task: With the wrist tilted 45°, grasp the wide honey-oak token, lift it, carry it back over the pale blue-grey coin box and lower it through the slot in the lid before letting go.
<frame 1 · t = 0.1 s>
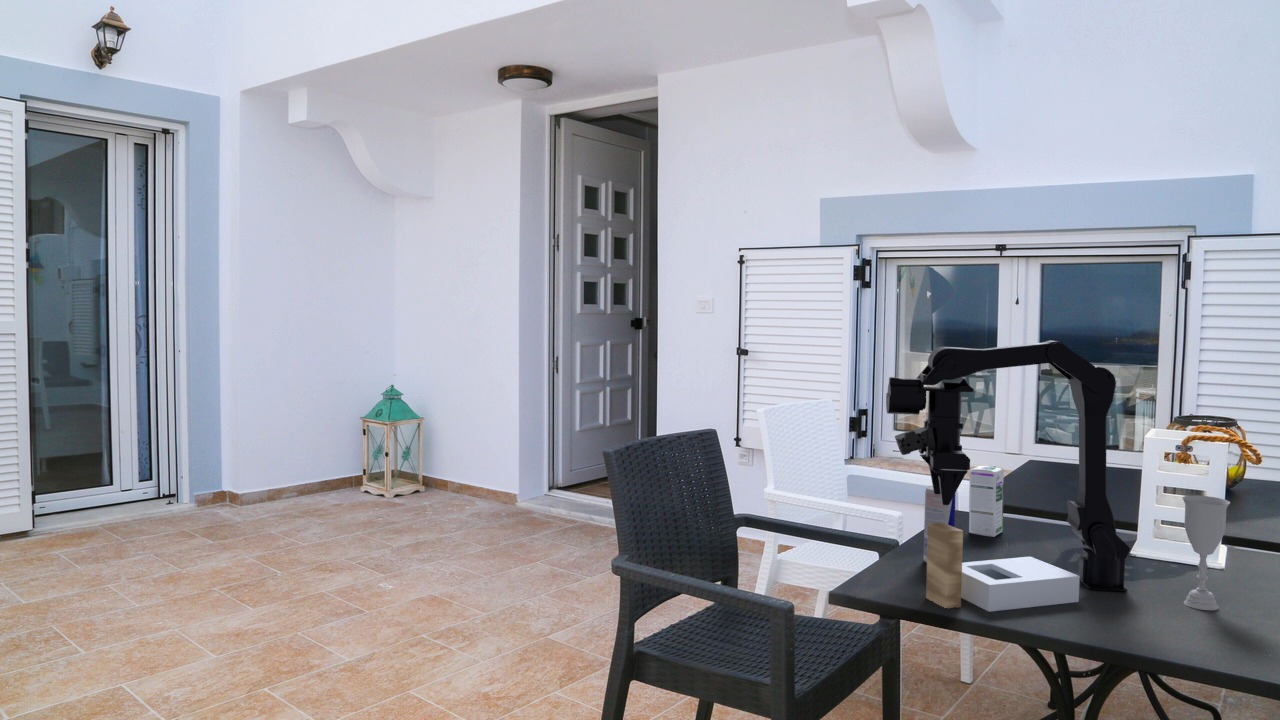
hand: (941, 499, 164), 15 cm above the table, tool pointing down, fingers open, 9 cm apart
chalice: (1200, 606, 150), on the table
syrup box: (985, 533, 197), on the table
beverage can: (938, 564, 173), on the table
oak token: (943, 602, 151), on the table
coin box: (1010, 595, 154), on the table
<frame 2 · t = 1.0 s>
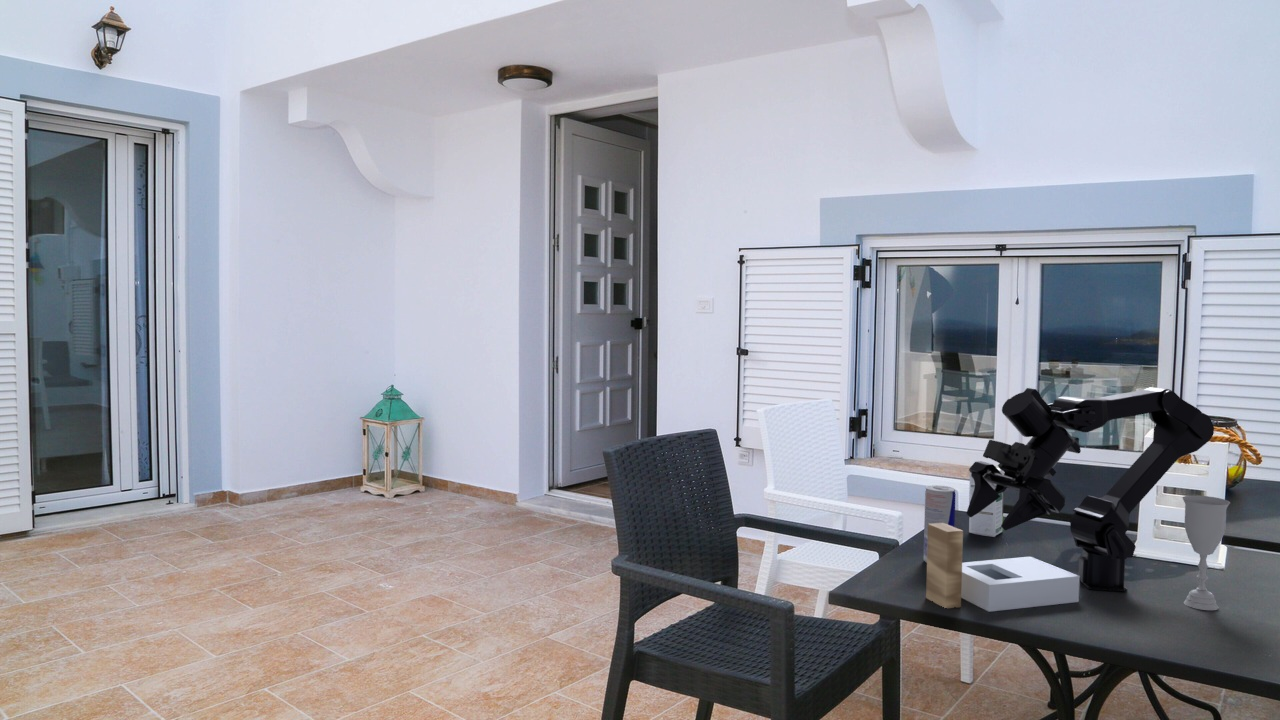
hand: (985, 521, 152), 13 cm above the table, tool tilted 45°, fingers open, 9 cm apart
nothing on the table moved.
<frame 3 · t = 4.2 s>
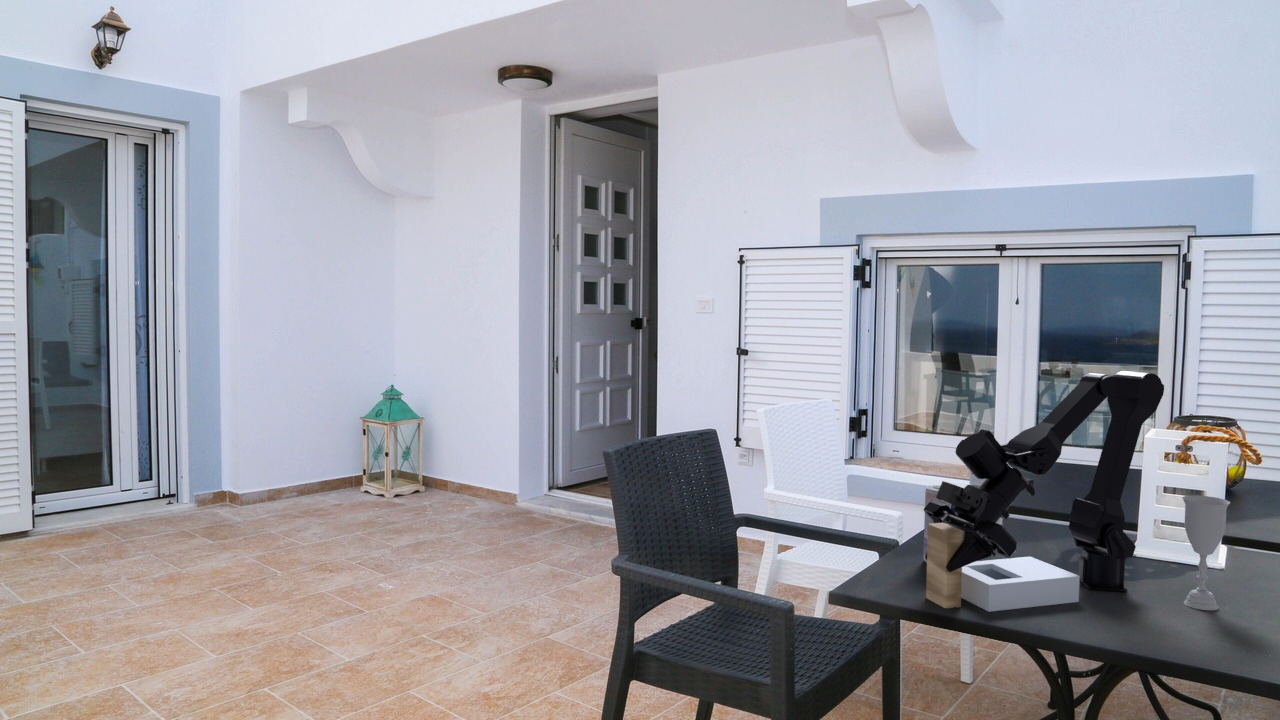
hand: (937, 564, 150), 7 cm above the table, tool tilted 45°, fingers closed on oak token, 5 cm apart
oak token: (943, 602, 151), on the table, touching gripper
everything else where it was.
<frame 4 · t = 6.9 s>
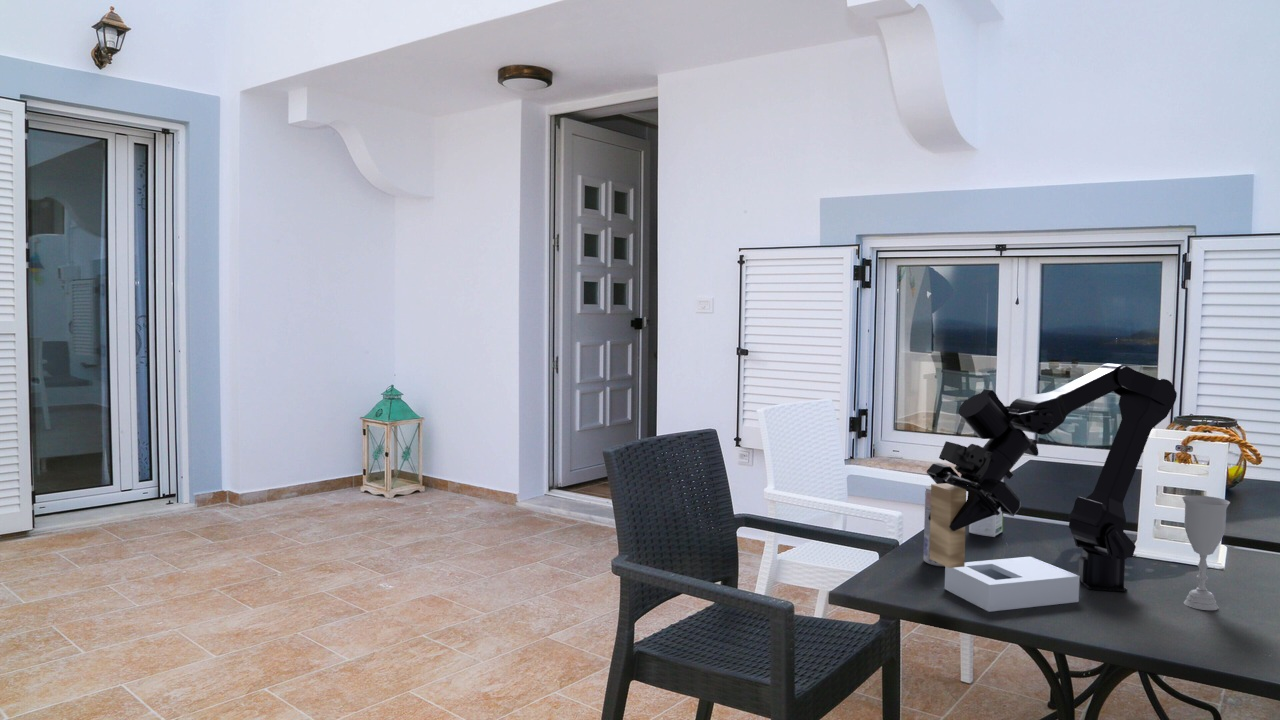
hand: (940, 524, 150), 13 cm above the table, tool tilted 45°, fingers closed on oak token, 5 cm apart
oak token: (946, 562, 150), point 7 cm above the table, touching gripper
everything else where it was.
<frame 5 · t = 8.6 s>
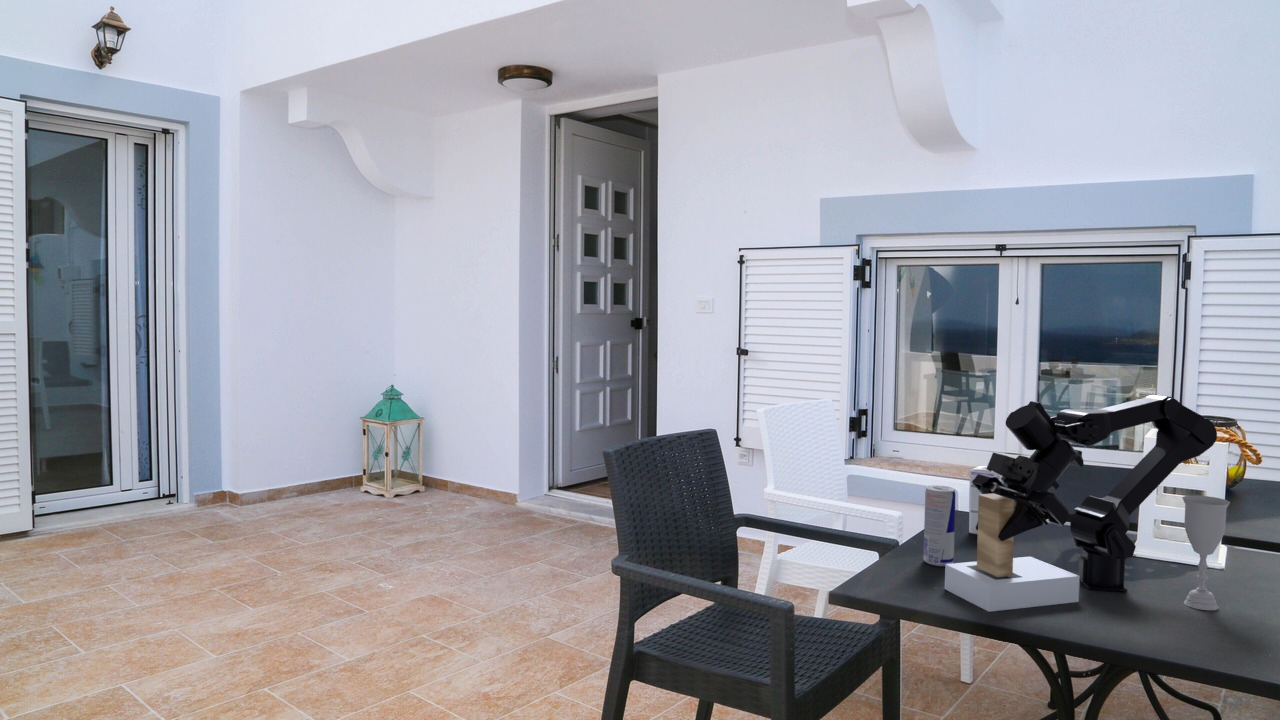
hand: (988, 534, 152), 11 cm above the table, tool tilted 45°, fingers closed on oak token, 5 cm apart
oak token: (994, 571, 153), point 5 cm above the table, touching gripper
everything else where it was.
when the fingers open (9 cm above the table, at t = 10.0 s): oak token drops 1 cm, resting on coin box.
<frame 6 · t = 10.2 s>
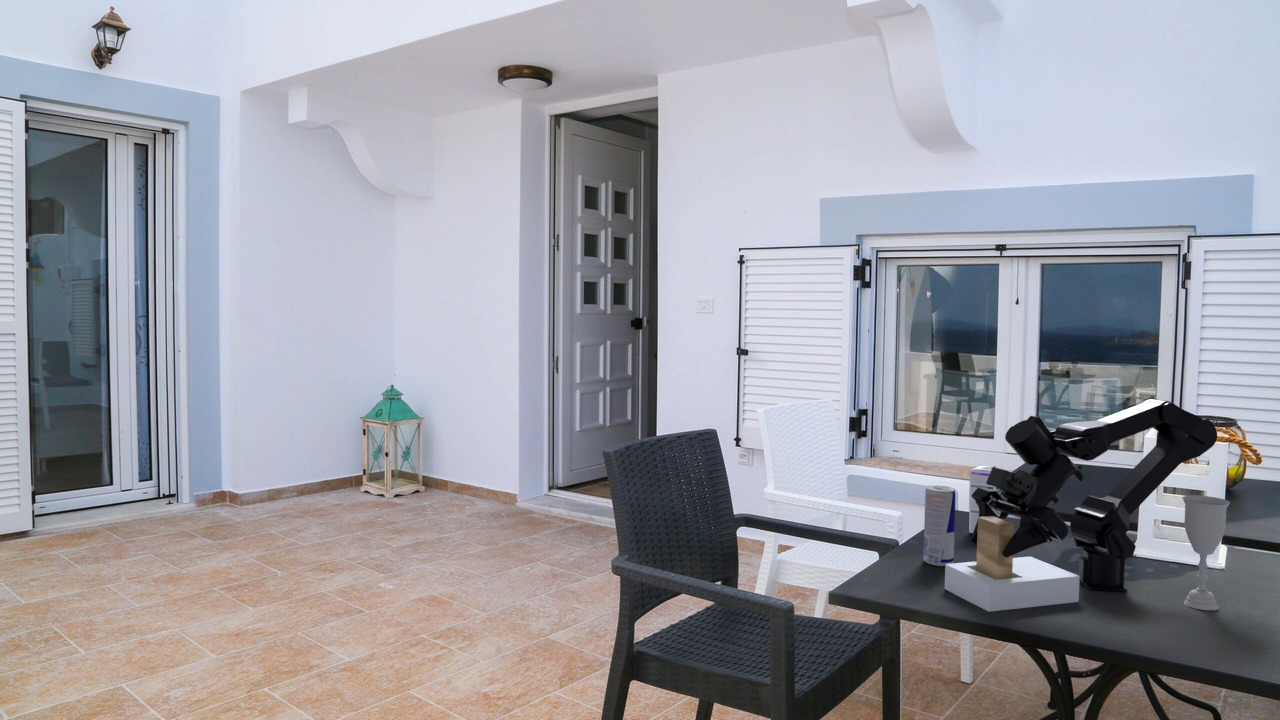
hand: (987, 549, 153), 9 cm above the table, tool tilted 45°, fingers open, 8 cm apart
oak token: (993, 594, 153), point 1 cm above the table, touching coin box
everything else where it was.
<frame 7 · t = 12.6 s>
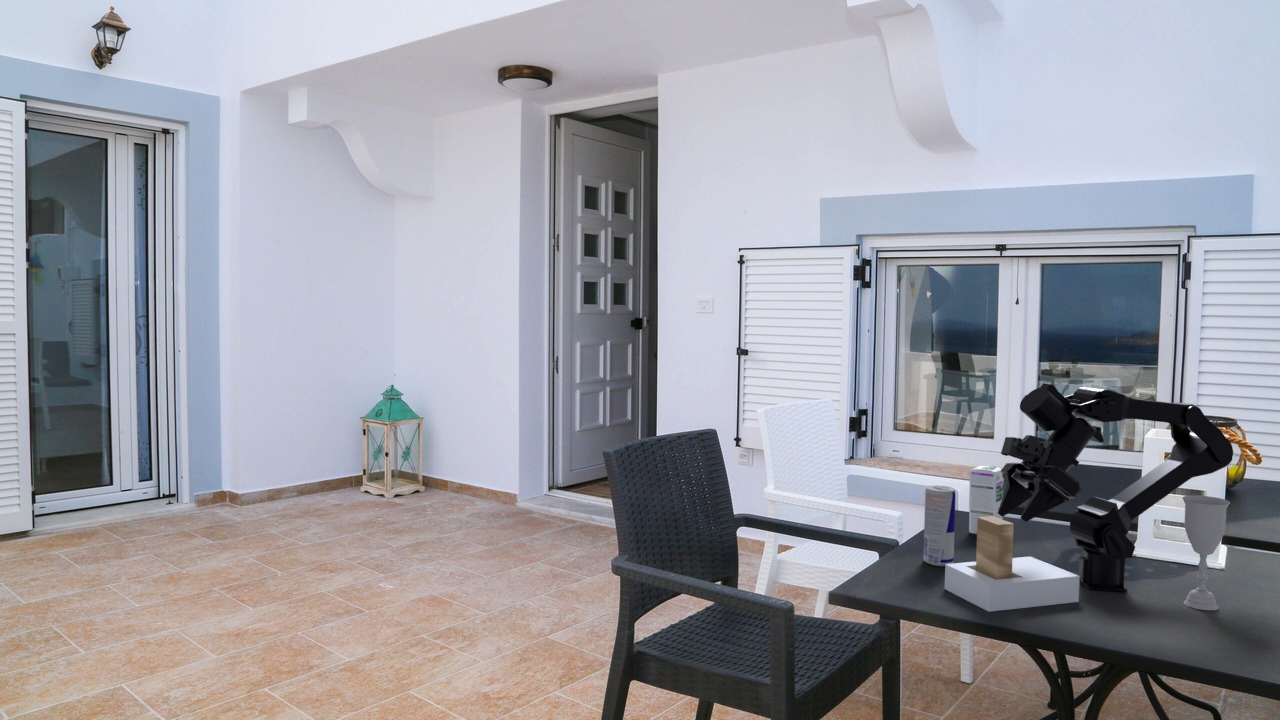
hand: (1011, 517, 155), 13 cm above the table, tool tilted 40°, fingers open, 9 cm apart
nothing on the table moved.
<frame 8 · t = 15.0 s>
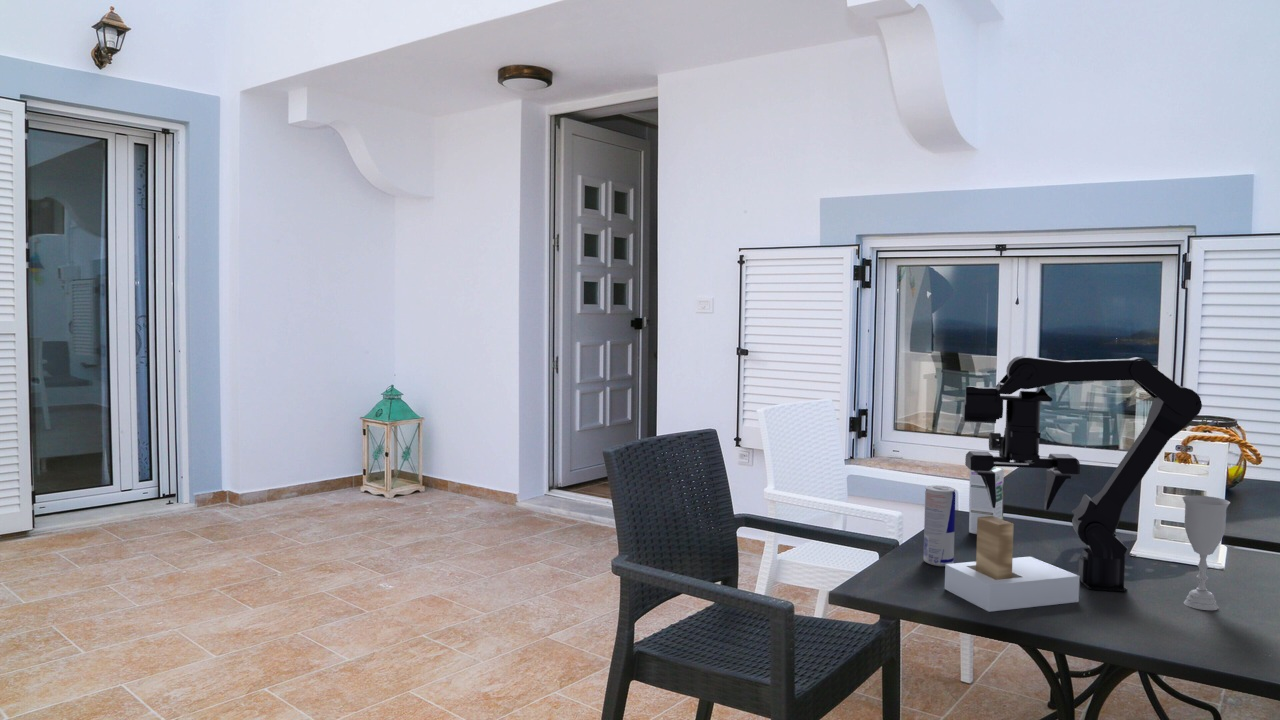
hand: (1019, 508, 163), 13 cm above the table, tool pointing down, fingers open, 9 cm apart
nothing on the table moved.
at the end: oak token inside the target area on the coin box (0.1 cm from its centre), point 0.5 cm above the coin box's base; the gripper is holding nothing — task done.
